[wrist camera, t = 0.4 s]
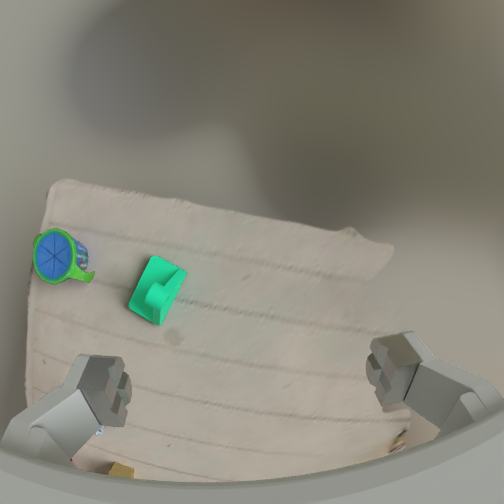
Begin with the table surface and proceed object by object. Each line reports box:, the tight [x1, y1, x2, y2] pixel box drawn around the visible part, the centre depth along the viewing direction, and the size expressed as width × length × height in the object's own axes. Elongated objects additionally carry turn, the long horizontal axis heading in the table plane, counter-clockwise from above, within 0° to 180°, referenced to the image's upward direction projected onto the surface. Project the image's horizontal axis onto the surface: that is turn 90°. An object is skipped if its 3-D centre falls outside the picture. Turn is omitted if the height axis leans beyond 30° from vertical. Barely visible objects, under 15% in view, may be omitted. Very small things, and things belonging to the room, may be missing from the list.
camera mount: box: [129, 256, 187, 326], centre depth 56 cm, size 12×8×10 cm, turn 153°
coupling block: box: [107, 462, 134, 478], centre depth 53 cm, size 7×5×8 cm
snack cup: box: [33, 228, 95, 284], centre depth 56 cm, size 16×10×10 cm
